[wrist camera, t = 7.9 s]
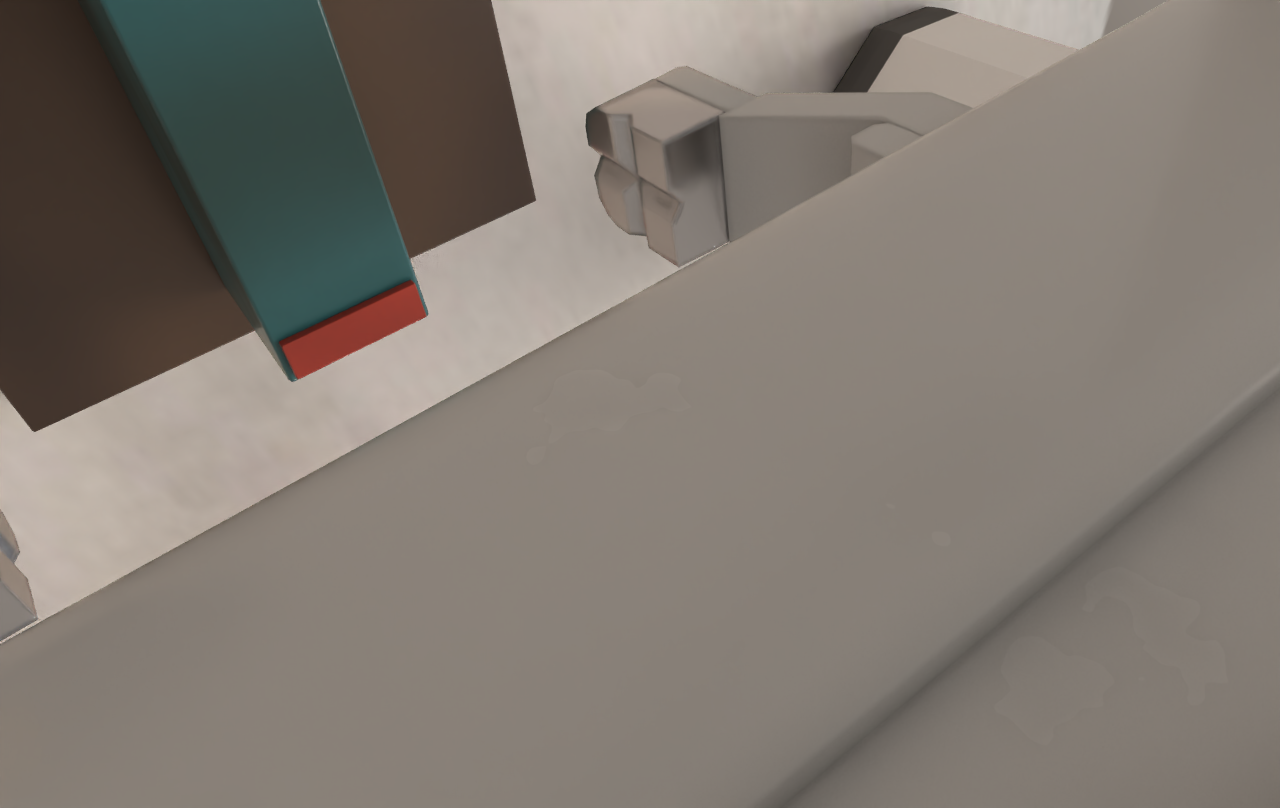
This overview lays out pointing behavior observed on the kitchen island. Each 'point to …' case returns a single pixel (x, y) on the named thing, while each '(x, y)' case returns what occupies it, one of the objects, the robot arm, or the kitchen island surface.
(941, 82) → the wine bottle
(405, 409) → the kitchen island surface
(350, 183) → the teal rectangular block
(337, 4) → the brown wooden base board
